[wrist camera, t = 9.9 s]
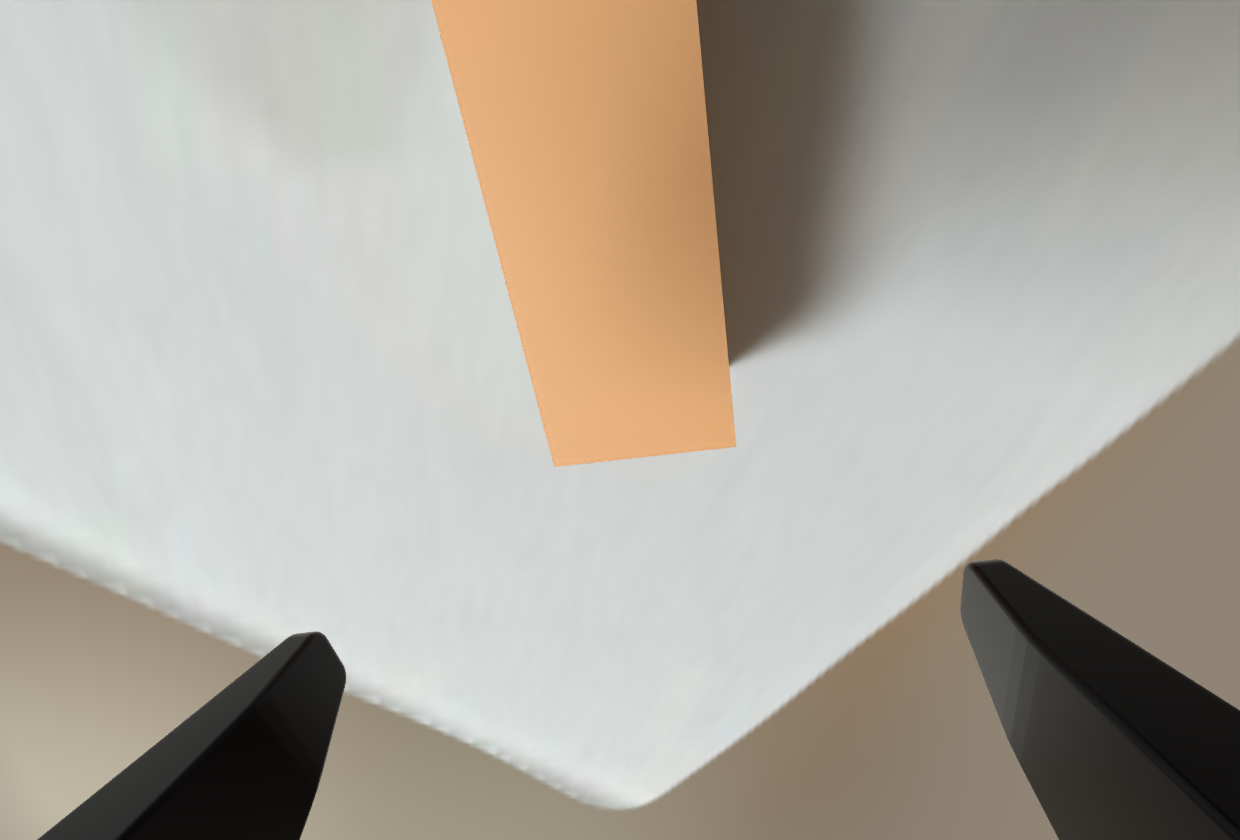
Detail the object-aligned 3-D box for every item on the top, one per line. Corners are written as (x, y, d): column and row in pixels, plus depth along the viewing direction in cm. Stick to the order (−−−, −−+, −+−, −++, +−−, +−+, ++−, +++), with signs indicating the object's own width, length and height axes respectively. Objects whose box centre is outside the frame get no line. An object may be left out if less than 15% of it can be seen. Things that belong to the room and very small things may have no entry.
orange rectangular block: (681, -33, 14) (689, -71, 10) (720, 367, 19) (736, 446, 15) (489, 8, 15) (427, -14, 11) (575, 385, 19) (553, 466, 15)
